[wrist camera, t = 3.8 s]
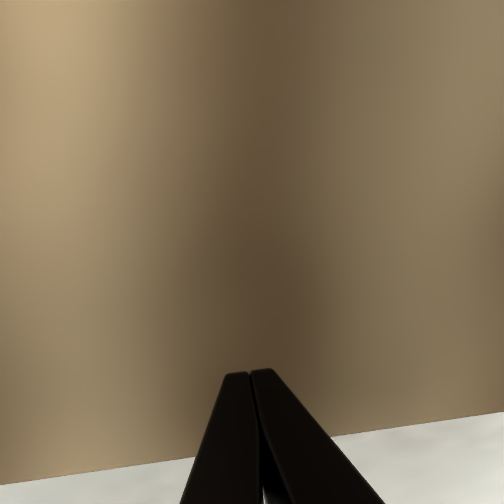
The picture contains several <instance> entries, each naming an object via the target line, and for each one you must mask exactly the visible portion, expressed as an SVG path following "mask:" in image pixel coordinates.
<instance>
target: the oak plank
mask: <svg viewBox="0 0 504 504" xmlns="http://www.w3.org/2000/svg"><path fill="white" fill-rule="evenodd" d="M263 368H272V369H273V370H275V372H276V373H277V374H278V375H279V376H280V378H281V379H282V380H283V381H284V382H285V384H286V385H287V386H288V387H289V388H290V390H291V391H292V392H293V393H294V394H295V396H296V397H297V398H298V399H299V400H300V402H301V403H302V404H303V405H304V406H305V408H306V409H307V410H308V411H309V412H310V414H311V415H312V416H313V417H314V418H315V420H316V421H317V422H318V423H319V424H320V426H321V427H322V428H323V429H324V430H325V432H326V433H327V434H328V435H329V437H333V436H340V435H347V434H354V433H361V432H367V431H374V430H381V429H388V428H395V427H402V426H408V425H415V424H422V423H429V422H436V421H443V420H449V419H456V418H463V417H470V416H477V415H484V414H491V413H497V412H504V0H0V485H5V484H12V483H18V482H25V481H32V480H39V479H46V478H53V477H59V476H66V475H73V474H80V473H87V472H94V471H101V470H107V469H114V468H121V467H128V466H135V465H142V464H148V463H155V462H162V461H169V460H176V459H183V458H189V457H196V455H197V452H198V449H199V447H200V444H201V441H202V438H203V435H204V432H205V429H206V427H207V424H208V421H209V418H210V415H211V412H212V410H213V407H214V404H215V401H216V398H217V395H218V392H219V390H220V387H221V384H222V381H223V378H224V376H225V375H226V374H227V373H233V372H240V371H247V372H248V373H250V371H252V370H256V369H263Z"/></svg>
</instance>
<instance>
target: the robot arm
mask: <svg viewBox="0 0 504 504" xmlns="http://www.w3.org/2000/svg"><path fill="white" fill-rule="evenodd" d="M263 493H264V499H265V504H385V503H384V502H383V500H382V499H381V498H380V497H379V496H378V494H377V493H376V492H375V491H374V490H373V488H372V487H371V486H370V485H369V483H368V482H367V481H366V480H365V479H364V477H363V476H362V475H361V474H360V473H359V471H358V470H357V469H356V468H355V467H354V465H353V464H352V463H351V462H350V461H349V459H348V458H347V457H346V456H345V455H344V453H343V452H342V451H341V450H340V449H339V447H338V446H337V445H336V444H335V443H334V441H333V440H332V439H331V438H330V437H329V435H328V434H327V433H326V432H325V430H324V429H323V428H322V427H321V426H320V424H319V423H318V422H317V421H316V420H315V418H314V417H313V416H312V415H311V414H310V412H309V411H308V410H307V409H306V408H305V406H304V405H303V404H302V403H301V402H300V400H299V399H298V398H297V397H296V396H295V394H294V393H293V392H292V391H291V390H290V388H289V387H288V386H287V385H286V384H285V382H284V381H283V380H282V379H281V378H280V376H279V375H278V374H277V373H276V372H275V370H273V369H272V368H263V369H256V370H252V371H250V373H248V372H247V371H240V372H233V373H227V374H226V375H225V376H224V378H223V381H222V384H221V387H220V390H219V392H218V395H217V398H216V401H215V404H214V407H213V410H212V412H211V415H210V418H209V421H208V424H207V427H206V429H205V432H204V435H203V438H202V441H201V444H200V447H199V449H198V452H197V455H196V458H195V461H194V464H193V466H192V469H191V472H190V475H189V478H188V481H187V484H186V486H185V489H184V492H183V495H182V498H181V501H180V504H264V499H263Z"/></svg>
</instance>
